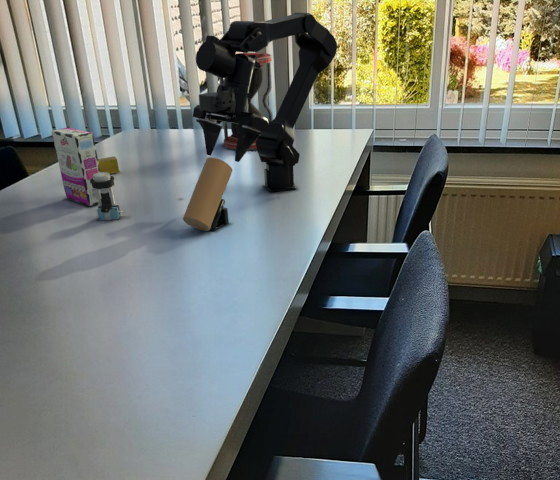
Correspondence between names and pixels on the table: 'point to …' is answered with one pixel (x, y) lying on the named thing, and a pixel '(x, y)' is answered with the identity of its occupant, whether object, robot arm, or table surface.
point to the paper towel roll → (207, 194)
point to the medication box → (108, 165)
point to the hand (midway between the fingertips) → (222, 158)
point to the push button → (105, 196)
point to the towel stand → (220, 217)
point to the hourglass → (254, 87)
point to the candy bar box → (77, 163)
